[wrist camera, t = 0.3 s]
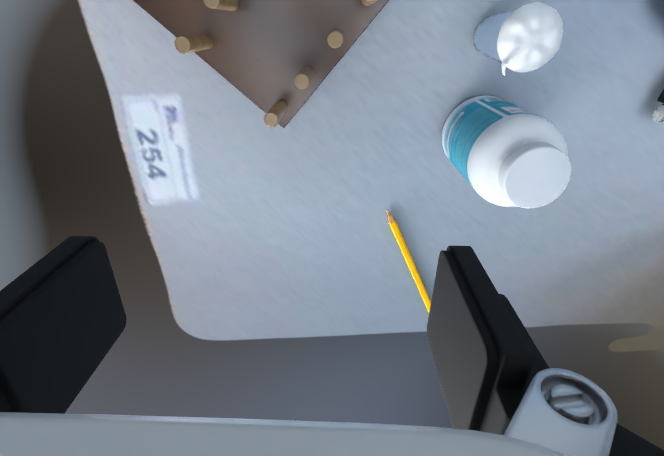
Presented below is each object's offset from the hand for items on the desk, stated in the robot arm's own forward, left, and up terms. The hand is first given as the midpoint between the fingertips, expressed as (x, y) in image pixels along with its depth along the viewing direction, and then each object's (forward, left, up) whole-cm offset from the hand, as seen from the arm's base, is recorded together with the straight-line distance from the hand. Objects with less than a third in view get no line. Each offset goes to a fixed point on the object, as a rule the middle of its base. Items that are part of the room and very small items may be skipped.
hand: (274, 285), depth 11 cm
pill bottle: (-8, +14, -31) cm, 35 cm away
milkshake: (-14, +8, -31) cm, 35 cm away
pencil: (+8, +22, -31) cm, 39 cm away
